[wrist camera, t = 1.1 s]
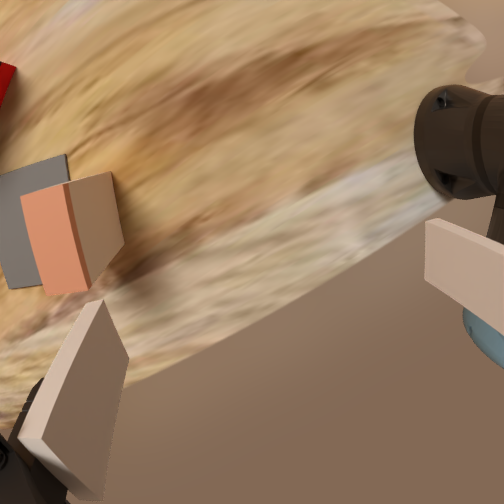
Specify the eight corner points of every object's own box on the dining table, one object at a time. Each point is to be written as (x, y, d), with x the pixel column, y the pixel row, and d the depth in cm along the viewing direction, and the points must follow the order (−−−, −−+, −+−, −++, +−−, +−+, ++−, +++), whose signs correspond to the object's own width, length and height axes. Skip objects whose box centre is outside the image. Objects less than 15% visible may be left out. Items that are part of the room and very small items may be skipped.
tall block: (110, 171, 30) (62, 184, 19) (124, 244, 33) (88, 290, 21) (77, 178, 30) (20, 196, 19) (92, 249, 32) (46, 296, 21)
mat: (65, 154, 29) (64, 154, 28) (91, 275, 33) (90, 277, 33) (-17, 182, 28) (-18, 182, 27) (10, 287, 32) (9, 289, 32)
